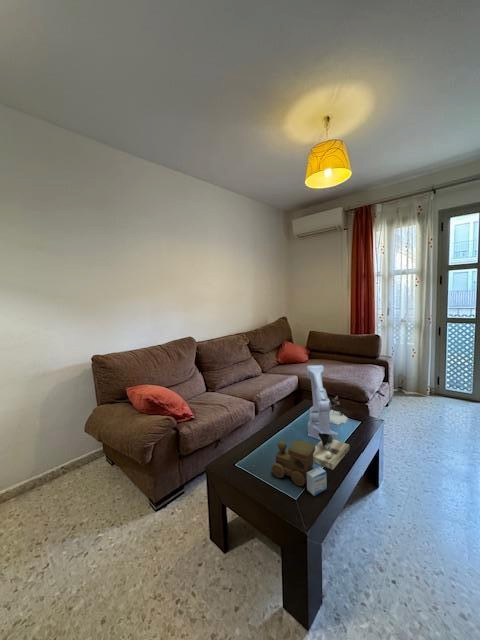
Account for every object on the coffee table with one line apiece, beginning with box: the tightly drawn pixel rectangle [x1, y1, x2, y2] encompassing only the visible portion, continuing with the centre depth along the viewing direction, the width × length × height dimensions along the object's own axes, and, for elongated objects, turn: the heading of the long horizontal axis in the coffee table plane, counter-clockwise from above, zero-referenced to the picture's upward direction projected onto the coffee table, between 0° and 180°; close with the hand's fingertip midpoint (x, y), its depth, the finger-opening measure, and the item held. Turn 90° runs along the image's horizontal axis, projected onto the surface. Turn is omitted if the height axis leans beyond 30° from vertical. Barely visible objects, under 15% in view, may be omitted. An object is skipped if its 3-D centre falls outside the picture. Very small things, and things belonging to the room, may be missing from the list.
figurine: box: [329, 395, 349, 425], centre depth 180 cm, size 20×18×16 cm
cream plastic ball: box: [325, 451, 331, 458], centre depth 132 cm, size 3×3×3 cm
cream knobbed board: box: [313, 438, 350, 471], centre depth 140 cm, size 14×22×3 cm, turn 137°
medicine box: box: [306, 466, 328, 497], centre depth 114 cm, size 8×4×9 cm, turn 117°
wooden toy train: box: [270, 439, 316, 487], centre depth 124 cm, size 20×11×17 cm, turn 54°
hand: (324, 445), depth 141 cm, fingers closed, pressing on steel ball
